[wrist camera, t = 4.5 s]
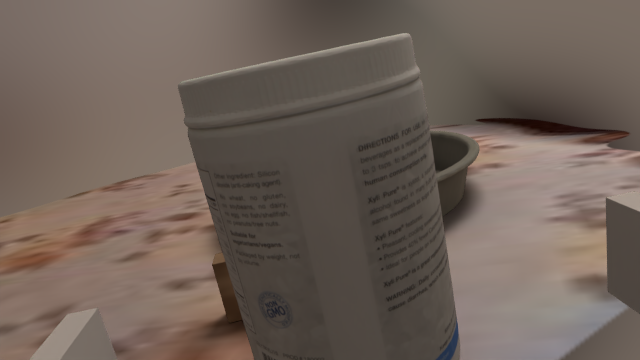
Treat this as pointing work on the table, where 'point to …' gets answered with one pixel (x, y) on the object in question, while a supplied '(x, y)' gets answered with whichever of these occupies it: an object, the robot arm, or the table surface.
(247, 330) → the supplement tub
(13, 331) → the table surface
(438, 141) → the cake pan
